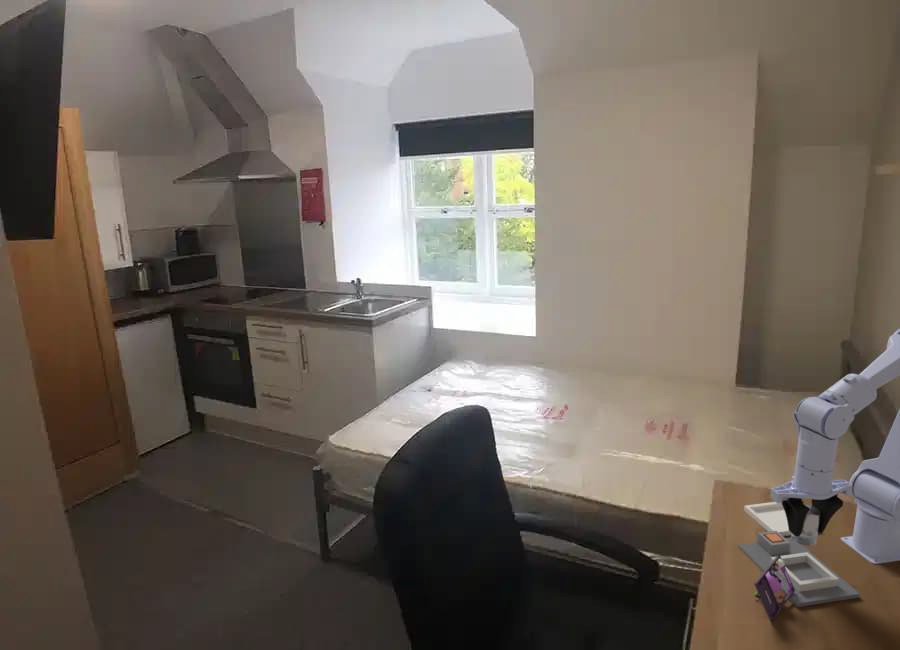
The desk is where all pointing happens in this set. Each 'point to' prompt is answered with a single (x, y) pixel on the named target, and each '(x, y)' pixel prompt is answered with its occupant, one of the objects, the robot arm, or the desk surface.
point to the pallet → (799, 571)
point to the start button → (773, 538)
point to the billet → (809, 528)
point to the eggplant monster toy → (772, 587)
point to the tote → (770, 516)
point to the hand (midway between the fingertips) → (805, 531)
